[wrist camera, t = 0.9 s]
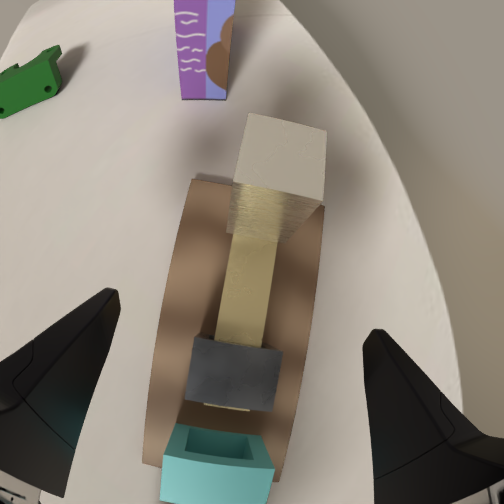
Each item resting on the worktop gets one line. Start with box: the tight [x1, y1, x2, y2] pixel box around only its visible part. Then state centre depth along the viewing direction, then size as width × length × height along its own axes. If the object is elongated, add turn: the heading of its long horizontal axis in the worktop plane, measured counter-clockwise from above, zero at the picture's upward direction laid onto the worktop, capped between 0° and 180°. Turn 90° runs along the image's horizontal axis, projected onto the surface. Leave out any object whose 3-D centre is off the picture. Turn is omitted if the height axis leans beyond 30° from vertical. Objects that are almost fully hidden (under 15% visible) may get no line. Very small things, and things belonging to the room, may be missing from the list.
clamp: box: [0, 45, 62, 119], centre depth 23 cm, size 12×6×9 cm, turn 95°
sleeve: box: [185, 333, 283, 412], centre depth 19 cm, size 4×5×5 cm
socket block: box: [160, 423, 275, 504], centre depth 16 cm, size 4×7×6 cm, turn 80°
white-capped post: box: [204, 113, 327, 411], centre depth 16 cm, size 16×4×10 cm, turn 170°
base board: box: [142, 179, 325, 482], centre depth 22 cm, size 26×12×1 cm, turn 170°
